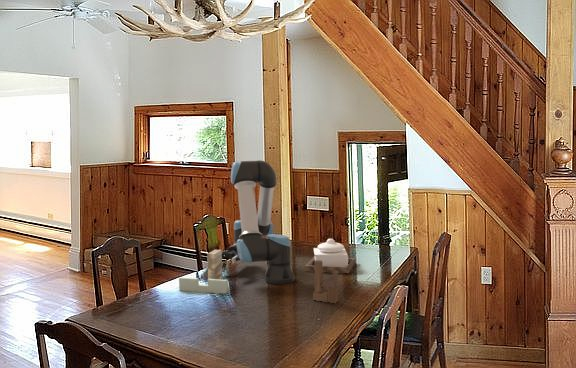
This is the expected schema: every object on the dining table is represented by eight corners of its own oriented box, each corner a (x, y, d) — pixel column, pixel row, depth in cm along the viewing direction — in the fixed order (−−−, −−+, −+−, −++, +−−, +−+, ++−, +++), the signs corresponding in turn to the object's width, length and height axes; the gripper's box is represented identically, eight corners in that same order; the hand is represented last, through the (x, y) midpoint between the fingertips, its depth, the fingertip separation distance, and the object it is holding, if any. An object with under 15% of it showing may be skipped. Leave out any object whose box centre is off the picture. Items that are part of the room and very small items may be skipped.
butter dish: (348, 270, 315) (348, 241, 313) (314, 271, 315) (314, 241, 314) (345, 263, 332) (345, 235, 331) (313, 263, 332) (313, 235, 331)
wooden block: (334, 304, 256) (334, 263, 255) (312, 300, 262) (312, 261, 260) (338, 301, 260) (338, 262, 258) (316, 298, 265) (316, 259, 263)
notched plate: (222, 280, 298) (221, 249, 296) (214, 286, 288) (214, 254, 287) (215, 280, 299) (215, 249, 297) (208, 285, 289) (207, 253, 288)
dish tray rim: (355, 263, 332) (355, 258, 332) (348, 273, 309) (348, 268, 309) (314, 261, 338) (314, 256, 338) (304, 271, 315) (304, 265, 315)
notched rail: (227, 292, 277) (227, 279, 276) (226, 293, 275) (225, 280, 275) (181, 289, 283) (180, 277, 283) (179, 290, 281) (179, 278, 281)
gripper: (256, 259, 318) (243, 268, 297) (213, 257, 324) (198, 266, 304) (256, 245, 317) (242, 254, 297) (213, 243, 324) (197, 251, 303)
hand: (220, 260), depth 300 cm, fingers open, 13 cm apart
